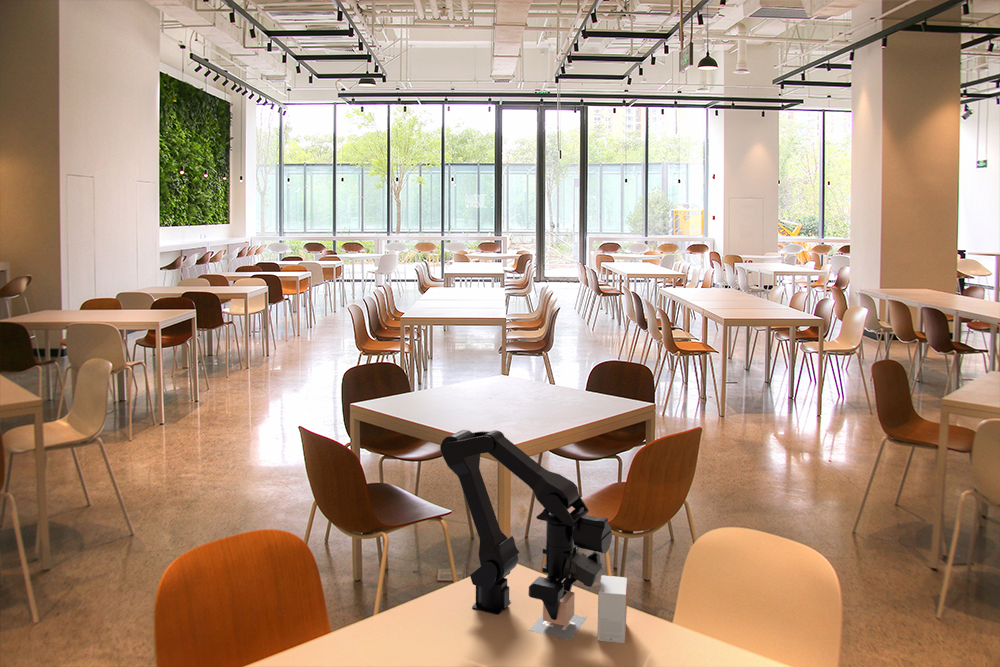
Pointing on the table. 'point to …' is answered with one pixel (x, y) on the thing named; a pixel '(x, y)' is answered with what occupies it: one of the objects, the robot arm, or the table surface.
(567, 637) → the tile
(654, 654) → the table surface
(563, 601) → the block
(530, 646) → the table surface
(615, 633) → the small box
